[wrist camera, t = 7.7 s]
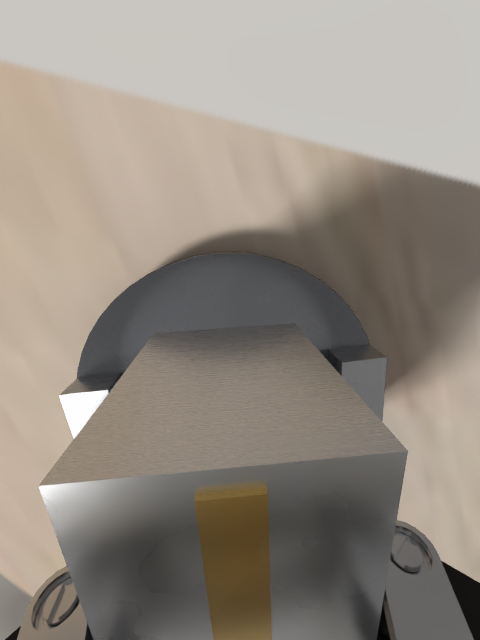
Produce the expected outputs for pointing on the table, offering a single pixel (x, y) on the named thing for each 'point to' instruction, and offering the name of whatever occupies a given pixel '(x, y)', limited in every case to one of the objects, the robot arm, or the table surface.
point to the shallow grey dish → (223, 322)
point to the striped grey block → (229, 495)
